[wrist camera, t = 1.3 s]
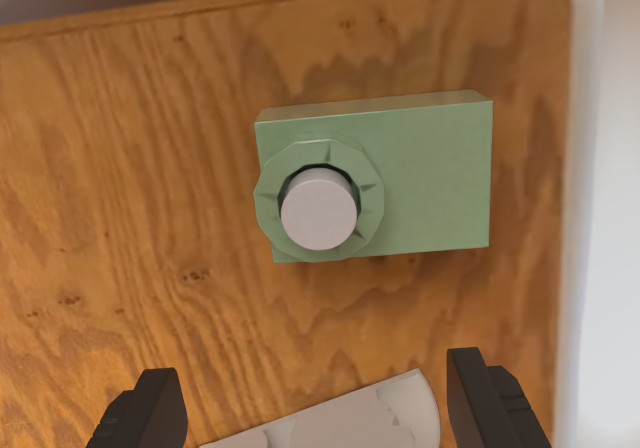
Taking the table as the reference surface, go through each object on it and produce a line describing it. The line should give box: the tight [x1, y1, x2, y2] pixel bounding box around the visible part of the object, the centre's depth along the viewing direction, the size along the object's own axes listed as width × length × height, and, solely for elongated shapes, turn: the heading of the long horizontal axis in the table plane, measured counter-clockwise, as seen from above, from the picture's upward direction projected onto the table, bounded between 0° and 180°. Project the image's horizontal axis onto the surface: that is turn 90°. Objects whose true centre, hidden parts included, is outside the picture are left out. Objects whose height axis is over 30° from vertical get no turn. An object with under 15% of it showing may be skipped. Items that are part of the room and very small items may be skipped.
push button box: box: [253, 89, 493, 264], centre depth 29 cm, size 12×8×6 cm, turn 95°
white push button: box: [281, 168, 357, 250], centre depth 26 cm, size 4×4×2 cm
